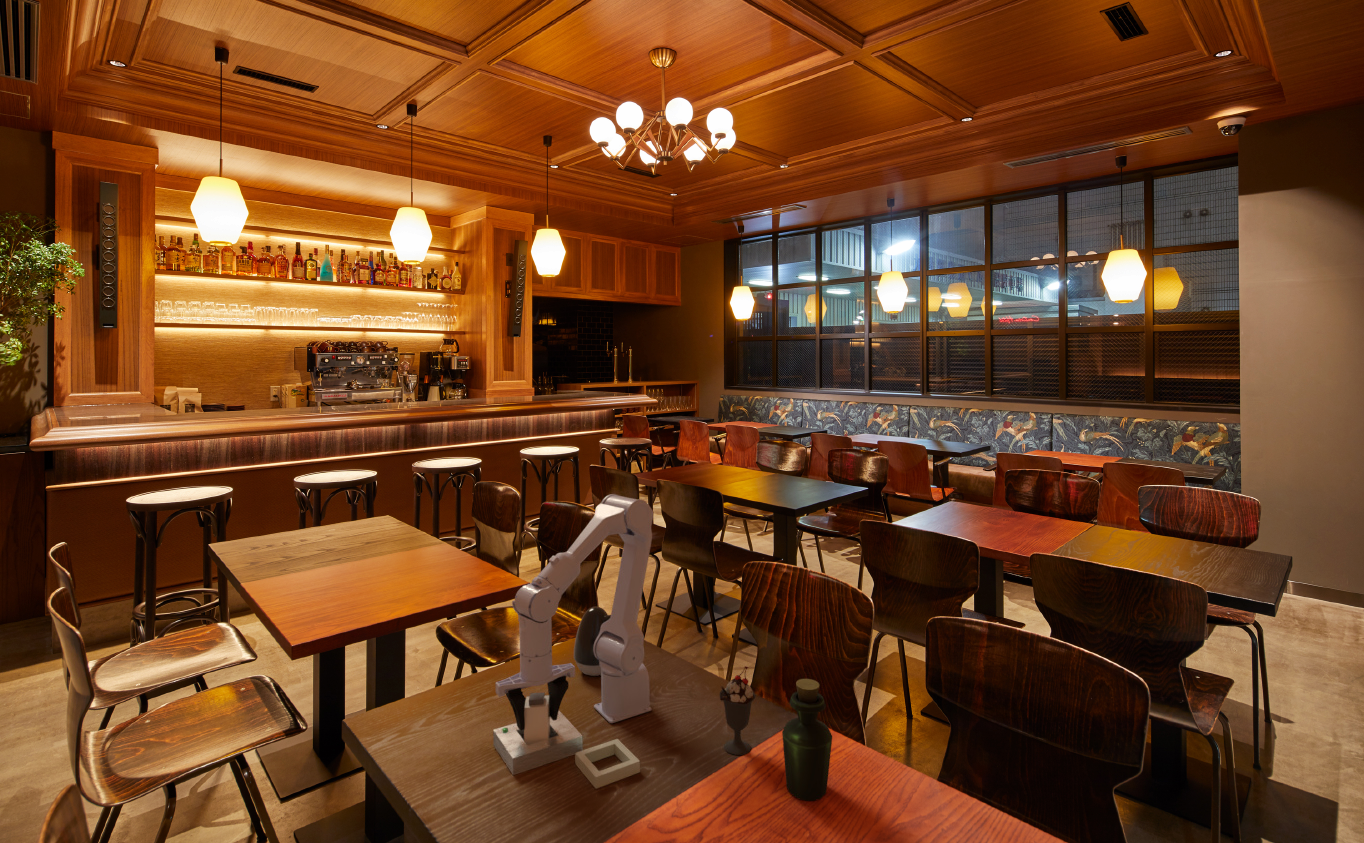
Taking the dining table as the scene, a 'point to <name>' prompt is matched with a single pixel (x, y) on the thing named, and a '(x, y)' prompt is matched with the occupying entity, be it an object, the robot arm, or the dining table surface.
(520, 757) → the port block
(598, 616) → the dark grey rounded figure
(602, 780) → the beige square frame
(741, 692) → the sundae
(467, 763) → the dining table surface
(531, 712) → the plug
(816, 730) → the potion bottle
